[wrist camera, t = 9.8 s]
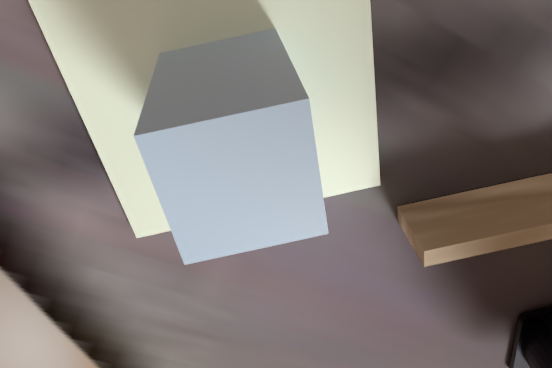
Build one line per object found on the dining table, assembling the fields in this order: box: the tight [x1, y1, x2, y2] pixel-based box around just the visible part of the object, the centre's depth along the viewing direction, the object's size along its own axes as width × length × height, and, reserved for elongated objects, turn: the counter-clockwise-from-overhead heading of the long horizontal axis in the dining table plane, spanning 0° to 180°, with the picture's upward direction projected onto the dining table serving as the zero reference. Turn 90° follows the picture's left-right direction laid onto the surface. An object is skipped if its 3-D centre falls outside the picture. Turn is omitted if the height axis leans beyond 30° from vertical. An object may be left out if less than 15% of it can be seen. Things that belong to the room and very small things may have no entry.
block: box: [134, 28, 329, 265], centre depth 15 cm, size 4×4×7 cm
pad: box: [28, 0, 380, 238], centre depth 19 cm, size 12×12×1 cm
